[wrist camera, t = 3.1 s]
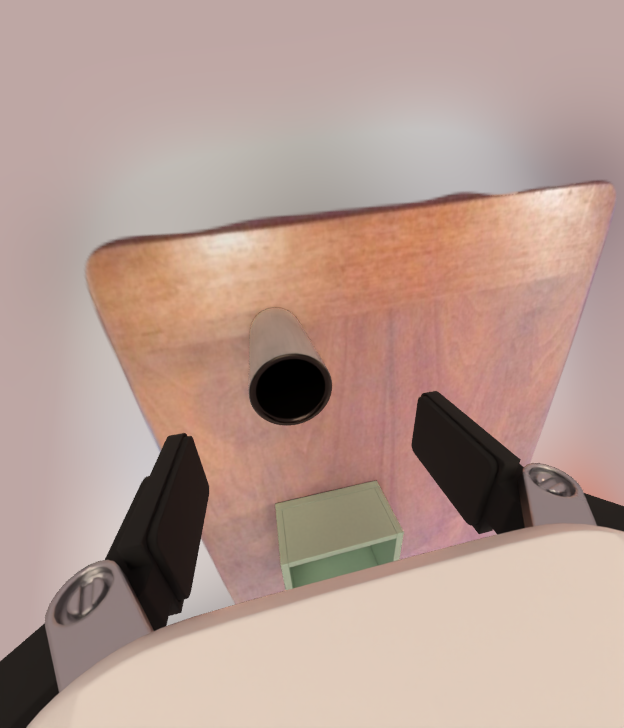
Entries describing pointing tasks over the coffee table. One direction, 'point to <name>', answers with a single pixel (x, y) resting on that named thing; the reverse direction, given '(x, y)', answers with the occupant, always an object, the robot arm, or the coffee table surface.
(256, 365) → the grey hollow cylinder
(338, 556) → the green open box
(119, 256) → the coffee table surface
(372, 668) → the robot arm
